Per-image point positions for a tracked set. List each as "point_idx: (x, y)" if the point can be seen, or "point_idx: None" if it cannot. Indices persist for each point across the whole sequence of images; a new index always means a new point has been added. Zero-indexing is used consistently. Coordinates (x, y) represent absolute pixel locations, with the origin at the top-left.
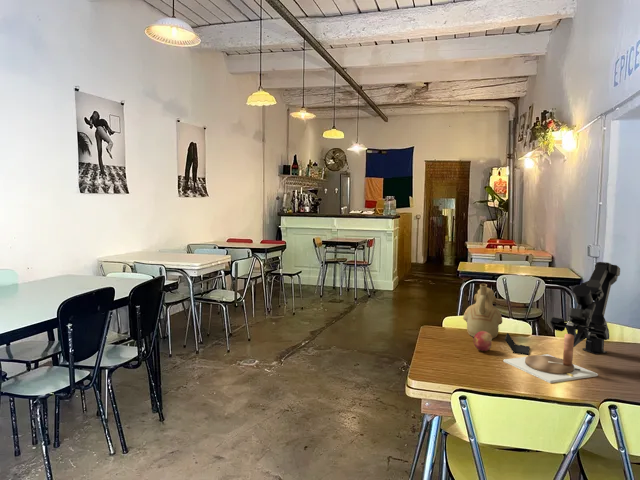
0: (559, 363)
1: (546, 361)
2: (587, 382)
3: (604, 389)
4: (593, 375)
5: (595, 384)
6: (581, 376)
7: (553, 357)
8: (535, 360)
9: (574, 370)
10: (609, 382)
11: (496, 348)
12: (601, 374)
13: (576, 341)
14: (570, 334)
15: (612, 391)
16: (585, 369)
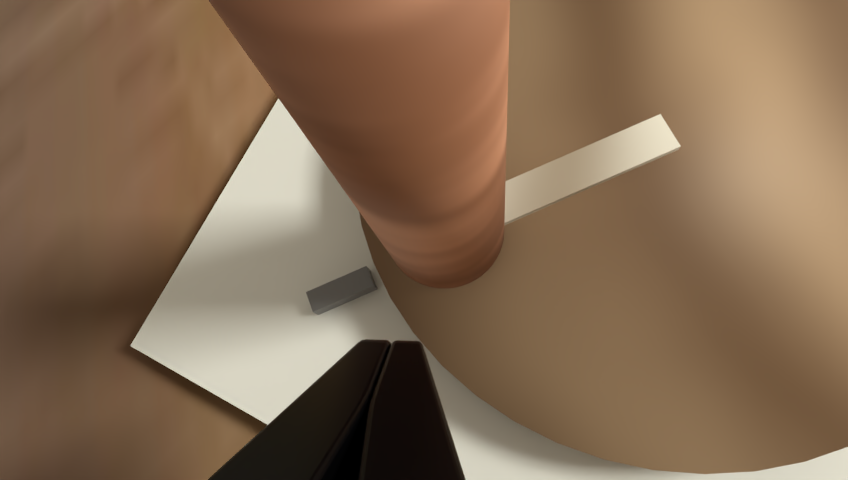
0: (533, 172)
1: (703, 144)
2: (212, 70)
3: (76, 18)
4: (176, 281)
5: (147, 76)
6: (267, 120)
7: (730, 432)
8: (828, 70)
9: (367, 252)
10: (40, 232)
11: None
12: (117, 448)
13: (259, 449)
14: None
15: (21, 24)
16: (271, 401)
